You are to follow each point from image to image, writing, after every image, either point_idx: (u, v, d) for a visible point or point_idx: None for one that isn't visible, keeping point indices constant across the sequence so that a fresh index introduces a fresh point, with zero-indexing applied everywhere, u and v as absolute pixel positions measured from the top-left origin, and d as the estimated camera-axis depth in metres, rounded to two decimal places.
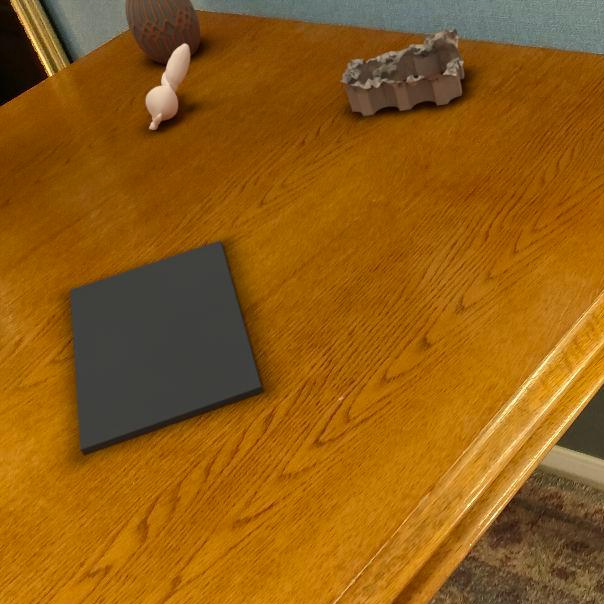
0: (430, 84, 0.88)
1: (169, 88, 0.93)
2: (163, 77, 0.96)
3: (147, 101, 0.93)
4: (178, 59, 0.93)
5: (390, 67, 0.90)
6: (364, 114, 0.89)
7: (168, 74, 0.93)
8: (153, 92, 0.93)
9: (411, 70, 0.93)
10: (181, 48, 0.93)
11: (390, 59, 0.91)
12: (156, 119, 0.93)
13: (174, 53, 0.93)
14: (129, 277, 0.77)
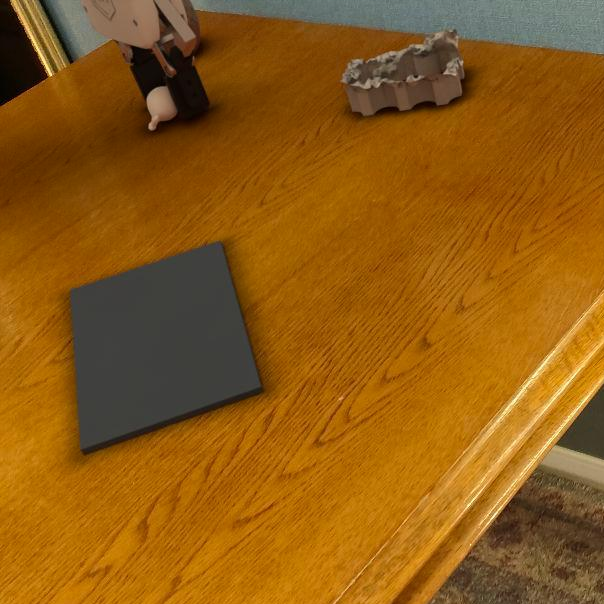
0: (430, 84, 0.88)
1: None
2: None
3: (147, 101, 0.93)
4: None
5: (390, 67, 0.90)
6: (364, 114, 0.89)
7: None
8: (153, 93, 0.93)
9: (411, 70, 0.93)
10: None
11: (390, 59, 0.91)
12: (153, 120, 0.93)
13: None
14: (129, 277, 0.77)
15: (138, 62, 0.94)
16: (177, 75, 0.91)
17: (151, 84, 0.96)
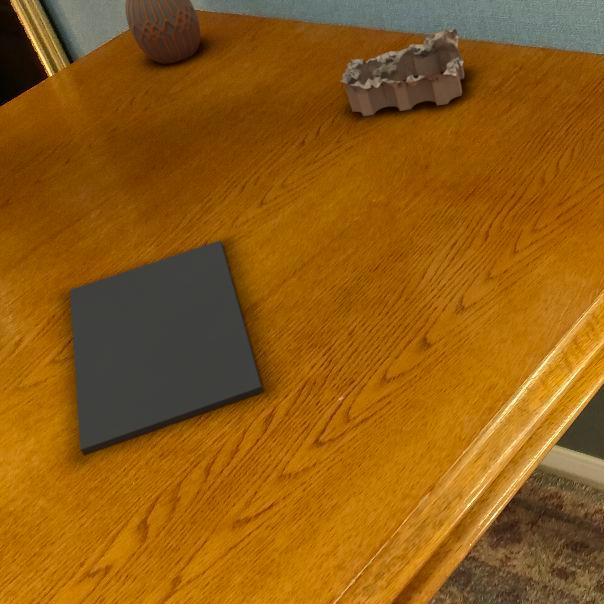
0: (430, 84, 0.88)
1: None
2: None
3: None
4: None
5: (390, 67, 0.90)
6: (364, 114, 0.89)
7: None
8: None
9: (411, 70, 0.93)
10: None
11: (390, 59, 0.91)
12: None
13: None
14: (129, 277, 0.77)
15: None
16: None
17: None
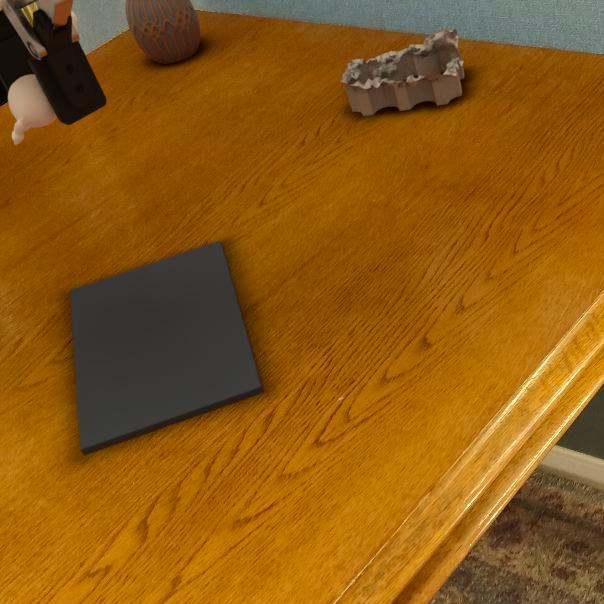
0: (430, 84, 0.88)
1: None
2: None
3: (8, 97, 0.60)
4: None
5: (390, 67, 0.90)
6: (364, 114, 0.89)
7: None
8: (15, 84, 0.60)
9: (411, 70, 0.93)
10: None
11: (390, 59, 0.91)
12: (15, 127, 0.60)
13: None
14: (129, 277, 0.77)
15: None
16: (49, 56, 0.58)
17: (18, 73, 0.63)
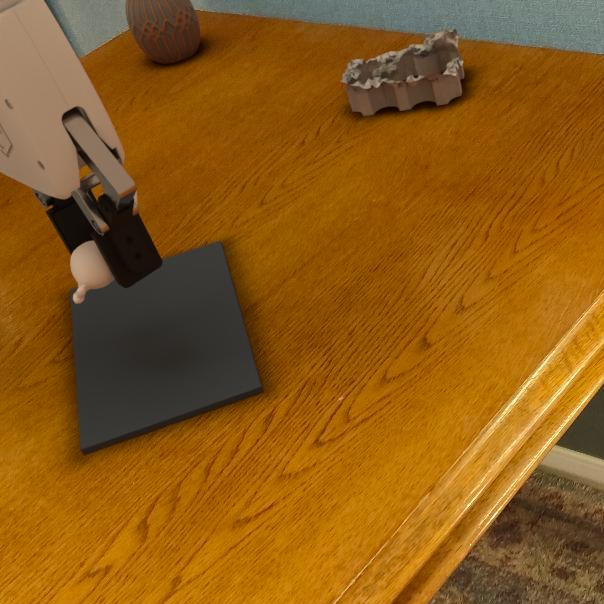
0: (430, 84, 0.88)
1: None
2: None
3: (70, 263, 0.64)
4: None
5: (390, 67, 0.90)
6: (364, 114, 0.89)
7: None
8: (77, 252, 0.63)
9: (411, 70, 0.93)
10: None
11: (390, 59, 0.91)
12: (77, 292, 0.63)
13: None
14: None
15: (58, 205, 0.65)
16: (111, 231, 0.61)
17: (79, 234, 0.66)
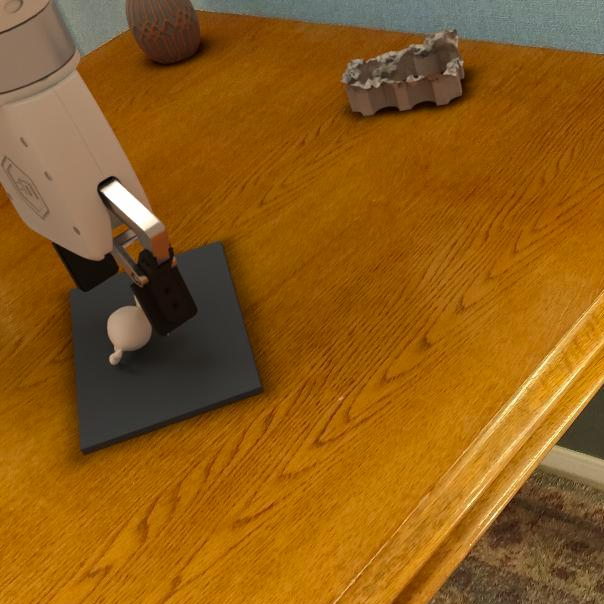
0: (430, 84, 0.88)
1: (137, 314, 0.67)
2: None
3: (107, 327, 0.68)
4: None
5: (390, 67, 0.90)
6: (364, 114, 0.89)
7: None
8: (115, 318, 0.67)
9: (411, 70, 0.93)
10: None
11: (390, 59, 0.91)
12: (114, 356, 0.67)
13: None
14: (129, 277, 0.77)
15: None
16: (150, 283, 0.63)
17: (83, 263, 0.69)
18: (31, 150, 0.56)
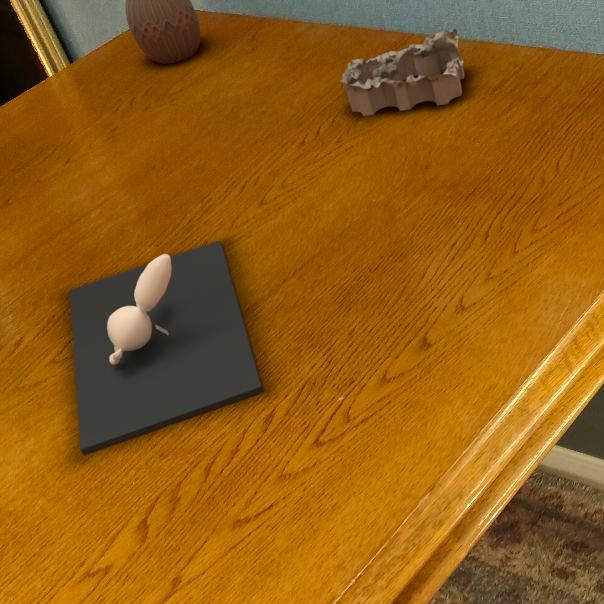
0: (430, 84, 0.88)
1: (137, 314, 0.67)
2: None
3: (107, 327, 0.68)
4: (152, 276, 0.67)
5: (390, 67, 0.90)
6: (364, 114, 0.89)
7: (137, 295, 0.67)
8: (115, 318, 0.67)
9: (411, 70, 0.93)
10: (158, 261, 0.67)
11: (390, 59, 0.91)
12: (114, 356, 0.67)
13: (148, 267, 0.67)
14: (129, 277, 0.77)
15: None
16: None
17: None
18: None
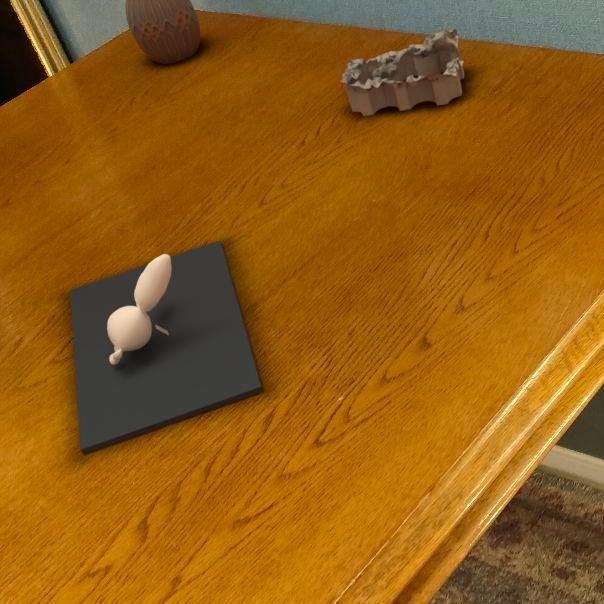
0: (430, 84, 0.88)
1: (137, 314, 0.67)
2: None
3: (107, 327, 0.68)
4: (152, 276, 0.67)
5: (390, 67, 0.90)
6: (364, 114, 0.89)
7: (137, 295, 0.67)
8: (115, 318, 0.67)
9: (411, 70, 0.93)
10: (158, 261, 0.67)
11: (390, 59, 0.91)
12: (114, 356, 0.67)
13: (148, 267, 0.67)
14: (129, 277, 0.77)
15: None
16: None
17: None
18: None
